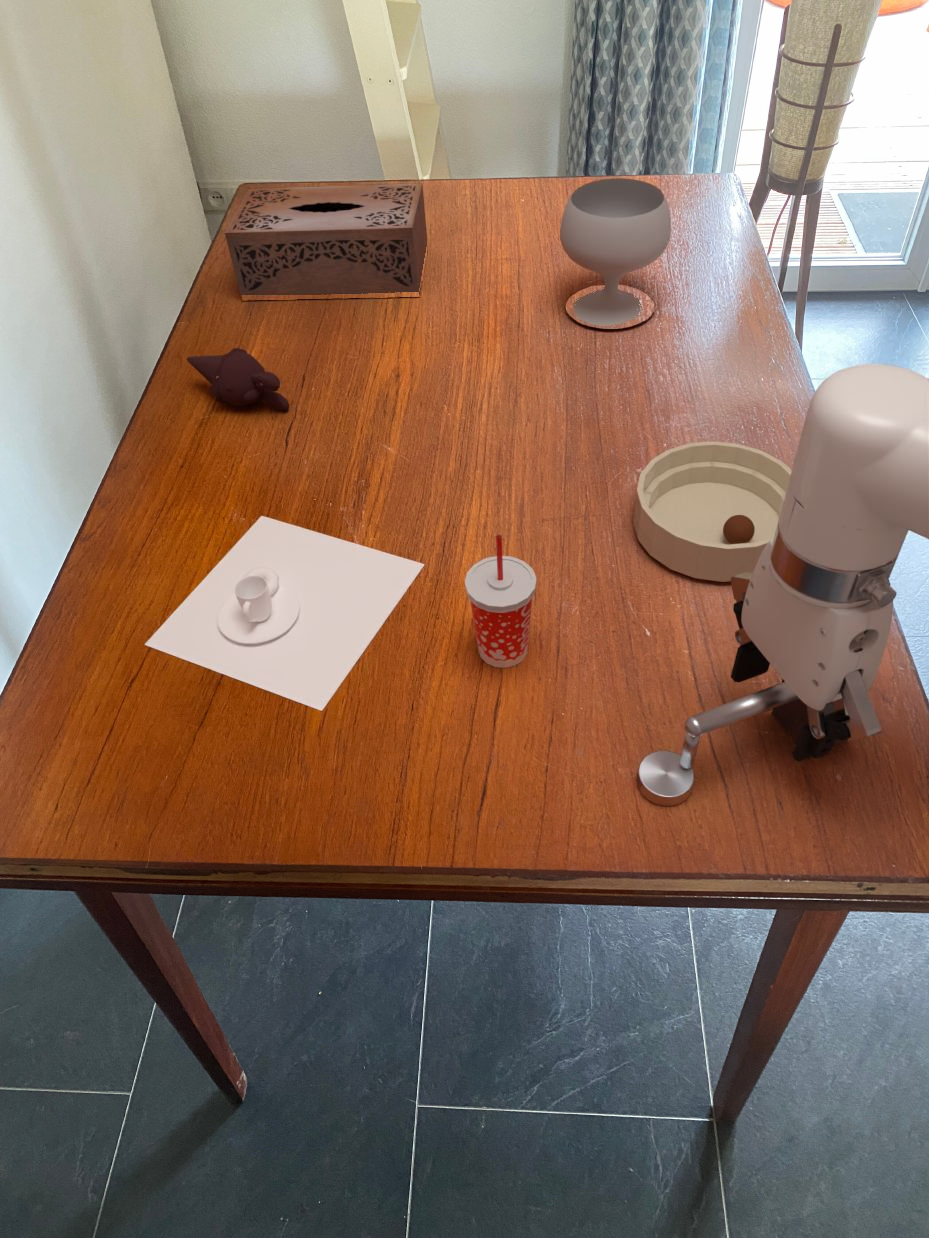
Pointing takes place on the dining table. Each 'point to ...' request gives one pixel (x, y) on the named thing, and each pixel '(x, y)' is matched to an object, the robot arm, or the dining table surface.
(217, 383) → the dark brown figurine
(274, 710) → the dining table surface
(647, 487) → the bowl
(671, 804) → the bent silver rod
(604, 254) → the chalice
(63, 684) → the dining table surface
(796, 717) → the dark brown cube
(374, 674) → the dining table surface
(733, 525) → the meatball
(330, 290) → the tissue box cover
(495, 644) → the beverage cup
